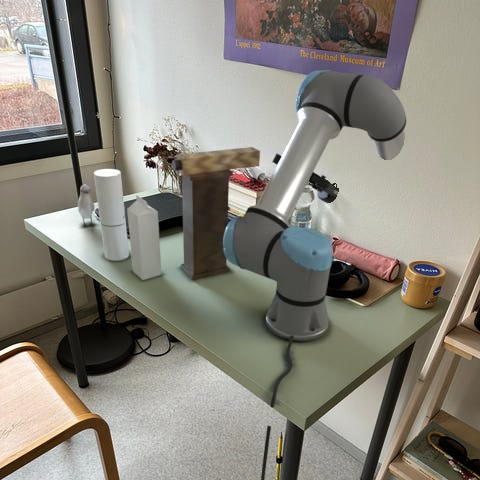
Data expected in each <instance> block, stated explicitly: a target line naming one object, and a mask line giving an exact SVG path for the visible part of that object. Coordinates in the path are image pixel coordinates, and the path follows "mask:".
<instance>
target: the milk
mask: <svg viewBox="0 0 480 480" xmlns="http://www.w3.org/2000/svg"><path fill="white" fill-rule="evenodd" d="M135 197H136V198H135V199H136V200H135V201H134V202H133V203H132V204H130V206H128V208H127V209H126V212H127V221H128V222H127V223H128V231H129V241H130V242H129V243H130V253H131V262H132V272H133V273H134V274H135V275H137V277H139V279H141V280H142V281H145V280H149V279H152V278H155V277H158V276H162V258H161V257H162V256H161V244H160V243H161V242H160V225H159V211H158V210H156V209H155V208H153V207H151V206H150V205H149V204H148V201H146V200H145V199H144V198H142V197H140V195H135Z"/></svg>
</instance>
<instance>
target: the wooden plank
mask: <svg viewBox="0 0 480 480" xmlns="http://www.w3.org/2000/svg"><path fill="white" fill-rule="evenodd" d="M175 156H176V159H173V160H172V161H171V168H172V170H173V171H174V172H177V173H178V172H180V173H181V174H182V175H190V174H198V173H207V172H215V171H223V170H231V171H232V170H239V169H247V168H255V167H260V160H261V150H259V149H257V148H255V147H254V146H248V147H247V146H246V147H238V148H237V147H236V148H229V149H228V148H227V149H217V150H208V151H199V152H198V151H197V152H187V153H177V154H176V155H175ZM180 173H179V174H180ZM181 174H180V175H181ZM182 175H181V176H182Z"/></svg>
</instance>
